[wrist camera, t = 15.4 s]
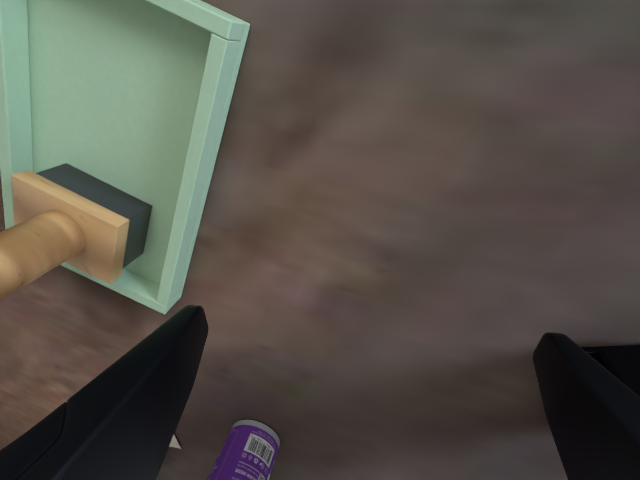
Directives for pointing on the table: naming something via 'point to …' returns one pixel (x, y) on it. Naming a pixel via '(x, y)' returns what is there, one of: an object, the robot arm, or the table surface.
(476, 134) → the table surface
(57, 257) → the wooden rubber stamp
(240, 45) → the tray
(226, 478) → the container
